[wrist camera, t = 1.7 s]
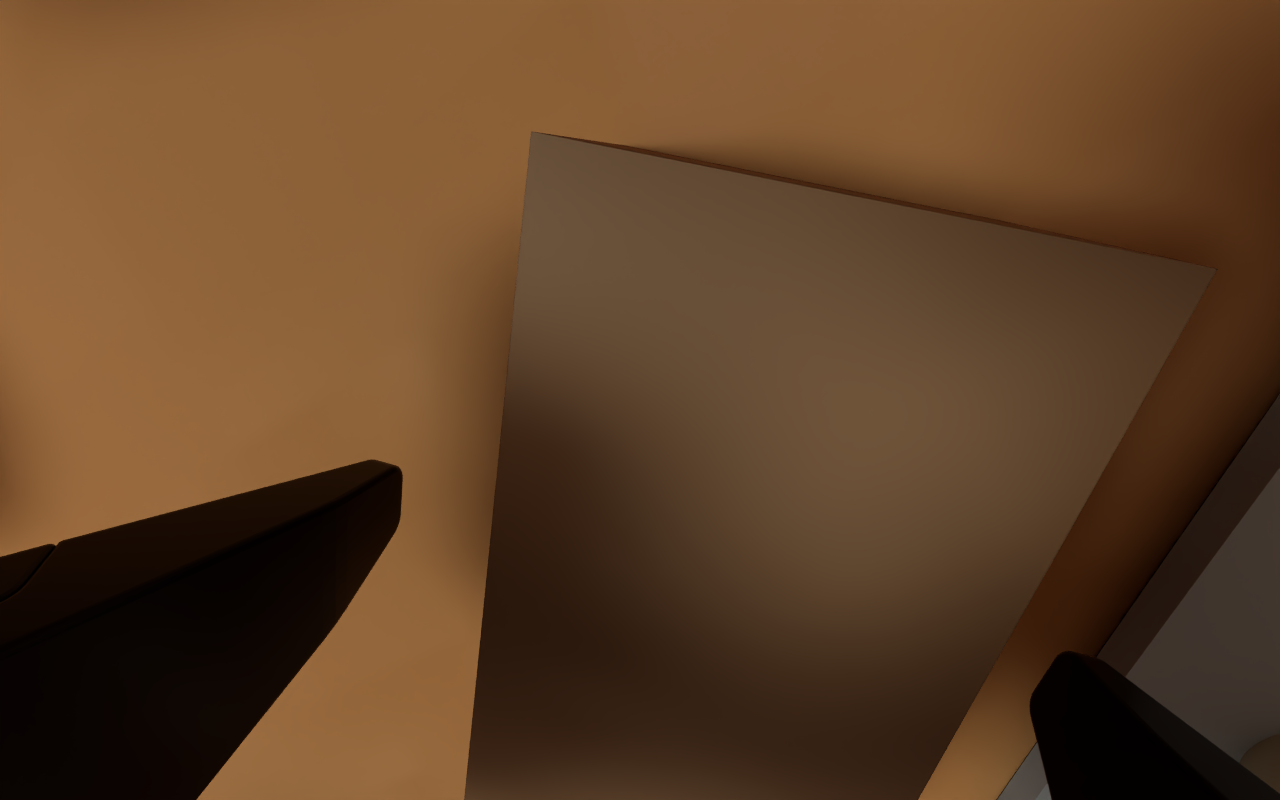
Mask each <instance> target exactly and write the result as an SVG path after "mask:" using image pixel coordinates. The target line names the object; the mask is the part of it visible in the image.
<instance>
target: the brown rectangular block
mask: <svg viewBox="0 0 1280 800" xmlns="http://www.w3.org/2000/svg"><path fill="white" fill-rule="evenodd" d="M1216 271H1217V269H1216V268H1211V267H1207V266H1202V265H1198V264H1193V263H1189V262H1184V261H1180V260H1175V259H1171V258H1166V257H1162V256H1157V255H1153V254H1148V253H1144V252H1139V251H1135V250H1130V249H1126V248H1121V247H1117V246H1112V245H1108V244H1103V243H1099V242H1094V241H1090V240H1085V239H1081V238H1076V237H1072V236H1067V235H1063V234H1058V233H1054V232H1049V231H1045V230H1040V229H1036V228H1031V227H1027V226H1022V225H1018V224H1013V223H1009V222H1004V221H1000V220H995V219H989V218H984V217H979V216H974V215H969V214H964V213H959V212H954V211H949V210H944V209H939V208H934V207H929V206H924V205H919V204H914V203H909V202H904V201H899V200H894V199H889V198H884V197H879V196H874V195H869V194H864V193H859V192H854V191H849V190H844V189H839V188H834V187H829V186H824V185H819V184H814V183H809V182H804V181H799V180H794V179H789V178H784V177H779V176H774V175H769V174H764V173H759V172H754V171H749V170H744V169H739V168H734V167H729V166H724V165H719V164H714V163H709V162H704V161H699V160H694V159H689V158H684V157H679V156H674V155H669V154H664V153H659V152H654V151H649V150H644V149H639V148H634V147H629V146H624V145H617V144H611V143H604V142H597V141H591V140H584V139H577V138H571V137H564V136H558V135H551V134H544V133H538V132H531V139H530V149H529V159H528V169H527V179H526V189H525V199H524V209H523V219H522V229H521V239H520V249H519V259H518V269H517V279H516V289H515V299H514V309H513V319H512V329H511V339H510V349H509V359H508V369H507V379H506V389H505V399H504V409H503V419H502V429H501V439H500V449H499V459H498V469H497V479H496V489H495V499H494V509H493V519H492V528H491V538H490V548H489V558H488V568H487V578H486V588H485V598H484V608H483V618H482V628H481V638H480V648H479V658H478V668H477V678H476V688H475V698H474V708H473V718H472V728H471V738H470V748H469V758H468V768H467V778H466V788H465V798H464V800H918V799H919V797H920V795H921V793H922V791H923V790H924V788H925V786H926V784H927V783H928V781H929V779H930V777H931V775H932V774H933V772H934V770H935V768H936V767H937V765H938V763H939V761H940V760H941V758H942V756H943V754H944V752H945V751H946V749H947V747H948V745H949V744H950V742H951V740H952V738H953V737H954V735H955V733H956V731H957V729H958V728H959V726H960V724H961V722H962V721H963V719H964V717H965V715H966V714H967V712H968V710H969V708H970V706H971V705H972V703H973V701H974V699H975V698H976V696H977V694H978V692H979V691H980V689H981V687H982V685H983V683H984V682H985V680H986V678H987V676H988V675H989V673H990V671H991V669H992V668H993V666H994V664H995V662H996V660H997V659H998V657H999V655H1000V653H1001V652H1002V650H1003V648H1004V646H1005V644H1006V643H1007V641H1008V639H1009V637H1010V636H1011V634H1012V632H1013V630H1014V629H1015V627H1016V625H1017V623H1018V621H1019V620H1020V618H1021V616H1022V614H1023V613H1024V611H1025V609H1026V607H1027V606H1028V604H1029V602H1030V600H1031V598H1032V597H1033V595H1034V593H1035V591H1036V590H1037V588H1038V586H1039V584H1040V583H1041V581H1042V579H1043V577H1044V575H1045V574H1046V572H1047V570H1048V568H1049V567H1050V565H1051V563H1052V561H1053V560H1054V558H1055V556H1056V554H1057V552H1058V551H1059V549H1060V547H1061V545H1062V544H1063V542H1064V540H1065V538H1066V537H1067V535H1068V533H1069V531H1070V529H1071V528H1072V526H1073V524H1074V522H1075V521H1076V519H1077V517H1078V515H1079V513H1080V512H1081V510H1082V508H1083V506H1084V505H1085V503H1086V501H1087V499H1088V498H1089V496H1090V494H1091V492H1092V490H1093V489H1094V487H1095V485H1096V483H1097V482H1098V480H1099V478H1100V476H1101V475H1102V473H1103V471H1104V469H1105V467H1106V466H1107V464H1108V462H1109V460H1110V459H1111V457H1112V455H1113V453H1114V452H1115V450H1116V448H1117V446H1118V444H1119V443H1120V441H1121V439H1122V437H1123V436H1124V434H1125V432H1126V430H1127V429H1128V427H1129V425H1130V423H1131V421H1132V420H1133V418H1134V416H1135V414H1136V413H1137V411H1138V409H1139V407H1140V405H1141V404H1142V402H1143V400H1144V398H1145V397H1146V395H1147V393H1148V391H1149V390H1150V388H1151V386H1152V384H1153V382H1154V381H1155V379H1156V377H1157V375H1158V374H1159V372H1160V370H1161V368H1162V367H1163V365H1164V363H1165V361H1166V359H1167V358H1168V356H1169V354H1170V352H1171V351H1172V349H1173V347H1174V345H1175V344H1176V342H1177V340H1178V338H1179V336H1180V335H1181V333H1182V331H1183V329H1184V328H1185V326H1186V324H1187V322H1188V321H1189V319H1190V317H1191V315H1192V313H1193V312H1194V310H1195V308H1196V306H1197V305H1198V303H1199V301H1200V299H1201V298H1202V296H1203V294H1204V292H1205V290H1206V289H1207V287H1208V285H1209V283H1210V282H1211V280H1212V278H1213V276H1214V274H1215V273H1216Z"/></svg>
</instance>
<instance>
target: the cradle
mask: <svg viewBox="0 0 1280 800" xmlns="http://www.w3.org/2000/svg"><path fill="white" fill-rule="evenodd" d="M1096 658H1098V659H1100V660H1103V661H1104V662H1106V663H1107V664H1109V665H1110V666H1111V667H1113V668H1114V669H1115V670H1117V671H1118V672H1119V673H1121V674H1122V675H1123V676H1124V677H1126V678H1127V679H1128V680H1130V681H1131V682H1132V683H1134V684H1135V685H1136V686H1138V687H1139V688H1140V689H1142V690H1143V691H1144V692H1146V693H1147V694H1148V695H1150V696H1151V697H1152V698H1154V699H1155V700H1156V701H1158V702H1159V703H1160V704H1162V705H1163V706H1164V707H1166V708H1167V709H1168V710H1170V711H1171V712H1172V713H1174V714H1175V715H1176V716H1178V717H1179V718H1180V719H1182V720H1183V721H1184V722H1186V723H1187V724H1188V725H1190V726H1191V727H1192V728H1194V729H1195V730H1196V731H1197V732H1199V733H1200V734H1201V735H1203V736H1204V737H1205V738H1207V739H1208V740H1209V741H1211V742H1212V743H1213V744H1215V745H1216V746H1217V747H1219V748H1220V749H1221V750H1223V751H1224V752H1225V753H1227V754H1228V755H1229V756H1231V757H1232V758H1233V759H1235V760H1236V761H1237V762H1239V763H1240V764H1241V765H1243V766H1244V767H1245V768H1247V769H1248V770H1249V771H1251V772H1252V773H1253V774H1255V775H1256V776H1257V777H1259V778H1260V779H1261V780H1263V781H1264V782H1265V783H1267V784H1268V785H1269V786H1270V787H1272V788H1273V789H1274V790H1276V791H1277V792H1278V793H1280V395H1279V396H1278V397H1277V399H1276V400H1275V402H1274V403H1273V405H1272V406H1271V407H1270V409H1269V410H1268V412H1267V413H1266V415H1265V416H1264V417H1263V419H1262V420H1261V422H1260V423H1259V425H1258V426H1257V428H1256V429H1255V430H1254V432H1253V433H1252V435H1251V436H1250V438H1249V439H1248V440H1247V442H1246V443H1245V445H1244V446H1243V448H1242V449H1241V450H1240V452H1239V453H1238V455H1237V456H1236V458H1235V459H1234V461H1233V462H1232V463H1231V465H1230V466H1229V468H1228V469H1227V471H1226V472H1225V473H1224V475H1223V476H1222V478H1221V479H1220V481H1219V482H1218V483H1217V485H1216V486H1215V488H1214V489H1213V491H1212V492H1211V494H1210V495H1209V496H1208V498H1207V499H1206V501H1205V502H1204V504H1203V505H1202V506H1201V508H1200V509H1199V511H1198V512H1197V514H1196V515H1195V517H1194V518H1193V519H1192V521H1191V522H1190V524H1189V525H1188V527H1187V528H1186V529H1185V531H1184V532H1183V534H1182V535H1181V537H1180V538H1179V539H1178V541H1177V542H1176V544H1175V545H1174V547H1173V548H1172V550H1171V551H1170V552H1169V554H1168V555H1167V557H1166V558H1165V560H1164V561H1163V562H1162V564H1161V565H1160V567H1159V568H1158V570H1157V571H1156V572H1155V574H1154V575H1153V577H1152V578H1151V580H1150V581H1149V583H1148V584H1147V585H1146V587H1145V588H1144V590H1143V591H1142V593H1141V594H1140V595H1139V597H1138V598H1137V600H1136V601H1135V603H1134V604H1133V605H1132V607H1131V608H1130V610H1129V611H1128V613H1127V614H1126V616H1125V617H1124V618H1123V620H1122V621H1121V623H1120V624H1119V626H1118V627H1117V628H1116V630H1115V631H1114V633H1113V634H1112V636H1111V637H1110V639H1109V640H1108V641H1107V643H1106V644H1105V646H1104V647H1103V649H1102V650H1101V651H1100V653H1099V654H1098V656H1097V657H1096ZM997 800H1051V796H1050V792H1049V788H1048V784H1047V779H1046V775H1045V771H1044V767H1043V763H1042V759H1041V755H1040V751H1039V747H1038V743H1036V745H1035V746H1034V748H1033V749H1032V750H1031V752H1030V753H1029V755H1028V756H1027V758H1026V759H1025V761H1024V762H1023V763H1022V765H1021V766H1020V768H1019V769H1018V771H1017V772H1016V773H1015V775H1014V776H1013V778H1012V779H1011V781H1010V782H1009V783H1008V785H1007V786H1006V788H1005V789H1004V791H1003V792H1002V794H1001V795H1000V796H999V798H998V799H997Z"/></svg>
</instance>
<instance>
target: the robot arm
mask: <svg viewBox="0 0 1280 800" xmlns="http://www.w3.org/2000/svg"><path fill="white" fill-rule="evenodd" d="M402 482H403V475H402V471H401V469H400V468H399V467H398V466H396V465H392V464H389V463H385V462H381V461H378V460H367V461H363V462H359V463H355V464H352V465H348V466H344V467H340V468H336V469H333V470H329V471H325V472H321V473H317V474H314V475H310V476H306V477H302V478H298V479H295V480H291V481H287V482H283V483H279V484H276V485H272V486H268V487H264V488H260V489H257V490H253V491H249V492H245V493H241V494H238V495H234V496H230V497H226V498H222V499H219V500H215V501H211V502H207V503H203V504H200V505H196V506H192V507H188V508H184V509H181V510H177V511H173V512H169V513H165V514H162V515H158V516H154V517H150V518H146V519H143V520H139V521H135V522H131V523H127V524H124V525H120V526H116V527H112V528H108V529H105V530H101V531H97V532H93V533H89V534H86V535H82V536H78V537H74V538H70V539H67V540H63V541H61V542H59V543H58V544H57V546H55V545H54V544H47V545H43V546H39V547H36V548H32V549H28V550H24V551H21V552H17V553H13V554H9V555H6V556H2V557H0V800H196V799H197V798H198V797H199V796H200V794H201V793H202V792H203V791H204V789H205V788H206V787H207V786H208V784H209V783H210V782H211V781H212V779H213V778H214V777H215V776H216V774H217V773H218V772H219V771H220V769H221V768H222V767H223V766H224V764H225V763H226V762H227V761H228V759H229V758H230V757H231V756H232V754H233V753H234V752H235V751H236V749H237V748H238V747H239V746H240V744H241V743H242V742H243V741H244V739H245V738H246V737H247V736H248V734H249V733H250V732H251V731H252V729H253V728H254V727H255V726H256V724H257V723H258V722H259V721H260V719H261V718H262V717H263V716H264V714H265V713H266V712H267V711H268V709H269V708H270V707H271V706H272V704H273V703H274V702H275V701H276V699H277V698H278V697H279V696H280V694H281V693H282V692H283V691H284V689H285V688H286V687H287V686H288V684H289V683H290V682H291V681H292V679H293V678H294V677H295V676H296V674H297V673H298V672H299V671H300V669H301V668H302V667H303V666H304V664H305V663H306V662H307V661H308V659H309V658H310V657H311V656H312V654H313V653H314V652H315V651H316V649H317V648H318V647H319V646H320V644H321V643H322V642H323V641H324V639H325V638H326V637H327V635H328V634H329V633H330V631H331V630H332V629H333V627H334V626H335V625H336V623H337V622H338V620H339V619H340V617H341V616H342V614H343V613H344V612H345V610H346V609H347V607H348V605H349V604H350V602H351V601H352V599H353V598H354V596H355V594H356V593H357V591H358V590H359V588H360V587H361V585H362V584H363V582H364V580H365V579H366V577H367V576H368V574H369V573H370V571H371V569H372V568H373V566H374V565H375V563H376V562H377V560H378V558H379V557H380V555H381V554H382V552H383V551H384V549H385V548H386V546H387V544H388V543H389V541H390V540H391V538H392V537H393V535H394V533H395V532H396V529H397V527H398V524H399V521H400V516H401V500H402ZM1030 715H1031V719H1032V723H1033V727H1034V731H1035V735H1036V739H1037V743H1038V747H1039V751H1040V755H1041V759H1042V763H1043V767H1044V771H1045V775H1046V779H1047V784H1048V788H1049V792H1050V796H1051V800H1280V793H1278V792H1277V791H1276V790H1274V789H1273V788H1272V787H1270V786H1269V785H1268V784H1267V783H1265V782H1264V781H1263V780H1261V779H1260V778H1259V777H1257V776H1256V775H1255V774H1253V773H1252V772H1251V771H1249V770H1248V769H1247V768H1245V767H1244V766H1243V765H1241V764H1240V763H1239V762H1237V761H1236V760H1235V759H1233V758H1232V757H1231V756H1229V755H1228V754H1227V753H1225V752H1224V751H1223V750H1221V749H1220V748H1219V747H1217V746H1216V745H1215V744H1213V743H1212V742H1211V741H1209V740H1208V739H1207V738H1205V737H1204V736H1203V735H1201V734H1200V733H1199V732H1197V731H1196V730H1195V729H1194V728H1192V727H1191V726H1190V725H1188V724H1187V723H1186V722H1184V721H1183V720H1182V719H1180V718H1179V717H1178V716H1176V715H1175V714H1174V713H1172V712H1171V711H1170V710H1168V709H1167V708H1166V707H1164V706H1163V705H1162V704H1160V703H1159V702H1158V701H1156V700H1155V699H1154V698H1152V697H1151V696H1150V695H1148V694H1147V693H1146V692H1144V691H1143V690H1142V689H1140V688H1139V687H1138V686H1136V685H1135V684H1134V683H1132V682H1131V681H1130V680H1128V679H1127V678H1126V677H1124V676H1123V675H1122V674H1121V673H1119V672H1118V671H1117V670H1115V669H1114V668H1113V667H1111V666H1110V665H1109V664H1107V663H1106V662H1104V661H1103V660H1100V659H1098V658H1095V657H1091V656H1088V655H1084V654H1080V653H1077V652H1073V651H1064V652H1062V653H1060V654H1059V655H1058V656H1057V657H1056V658H1055V660H1054V661H1053V663H1052V664H1051V666H1050V667H1049V669H1048V670H1047V672H1046V673H1045V675H1044V676H1043V678H1042V679H1041V681H1040V682H1039V684H1038V685H1037V687H1036V688H1035V690H1034V691H1033V693H1032V696H1031V699H1030Z"/></svg>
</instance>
